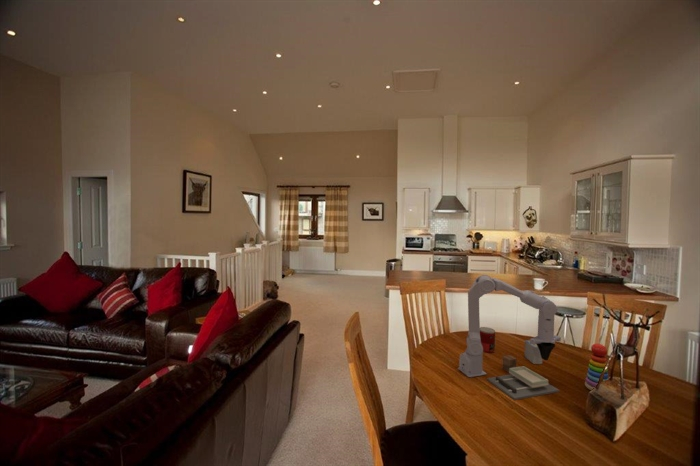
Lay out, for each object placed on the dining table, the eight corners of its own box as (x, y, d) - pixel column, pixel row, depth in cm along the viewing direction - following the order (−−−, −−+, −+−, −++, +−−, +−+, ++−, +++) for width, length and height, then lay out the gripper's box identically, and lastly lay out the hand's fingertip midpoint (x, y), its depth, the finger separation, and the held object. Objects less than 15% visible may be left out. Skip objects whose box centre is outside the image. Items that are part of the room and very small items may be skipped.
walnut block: (509, 373, 136) (509, 360, 136) (502, 368, 140) (502, 356, 140) (516, 371, 138) (516, 359, 137) (509, 367, 141) (509, 355, 141)
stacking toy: (614, 396, 119) (617, 349, 118) (591, 393, 121) (593, 347, 120) (602, 385, 127) (604, 341, 126) (580, 382, 129) (582, 339, 128)
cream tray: (532, 390, 120) (532, 382, 120) (508, 375, 131) (509, 368, 131) (548, 387, 122) (548, 380, 122) (523, 372, 134) (523, 366, 133)
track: (514, 400, 116) (514, 394, 116) (487, 379, 130) (487, 374, 130) (559, 391, 122) (559, 386, 122) (528, 373, 136) (528, 368, 136)
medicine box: (542, 364, 145) (543, 346, 144) (533, 364, 145) (533, 346, 145) (533, 357, 153) (533, 340, 152) (524, 356, 153) (524, 340, 152)
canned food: (492, 354, 155) (493, 333, 154) (476, 350, 160) (477, 329, 159) (496, 349, 161) (496, 329, 161) (480, 345, 166) (480, 325, 165)
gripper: (540, 332, 122) (539, 365, 123) (568, 329, 126) (566, 361, 127) (526, 326, 129) (524, 357, 130) (552, 323, 133) (551, 354, 134)
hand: (544, 359), depth 129 cm, fingers closed
